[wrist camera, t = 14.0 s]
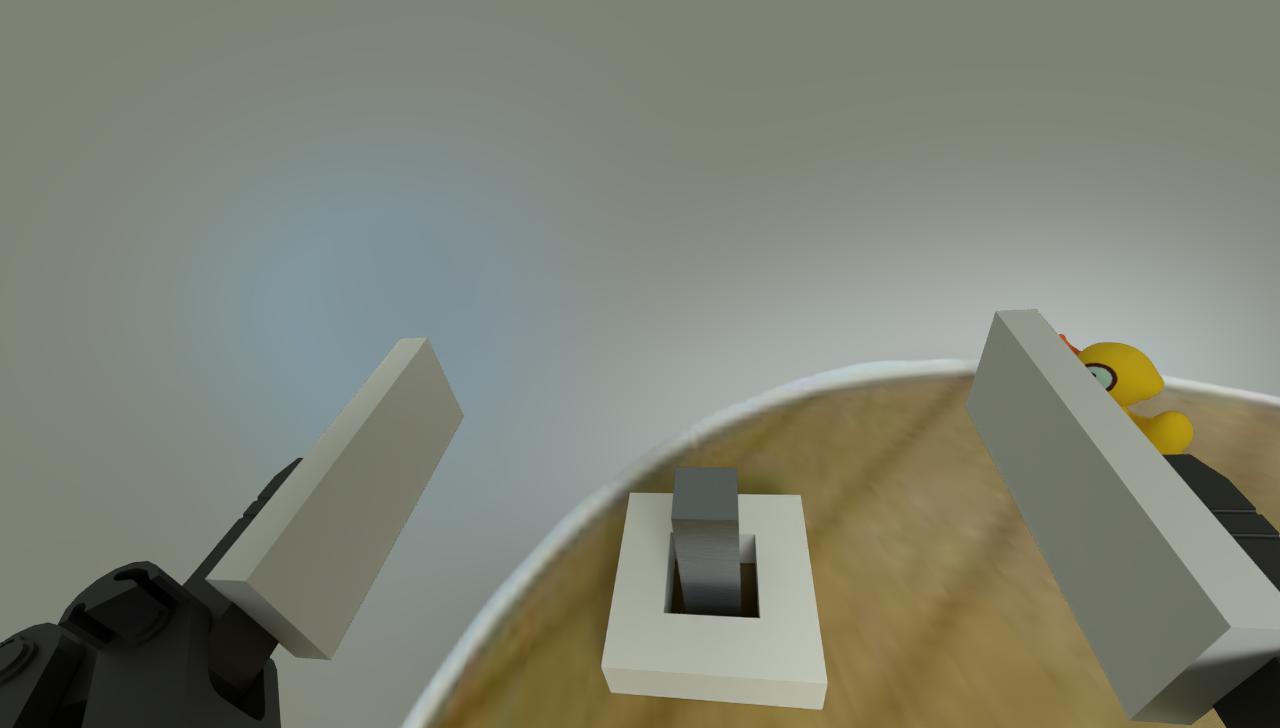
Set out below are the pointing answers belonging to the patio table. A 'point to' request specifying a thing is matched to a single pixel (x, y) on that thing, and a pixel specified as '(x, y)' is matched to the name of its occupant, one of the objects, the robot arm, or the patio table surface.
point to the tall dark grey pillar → (707, 540)
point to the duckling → (1136, 391)
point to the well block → (717, 645)
